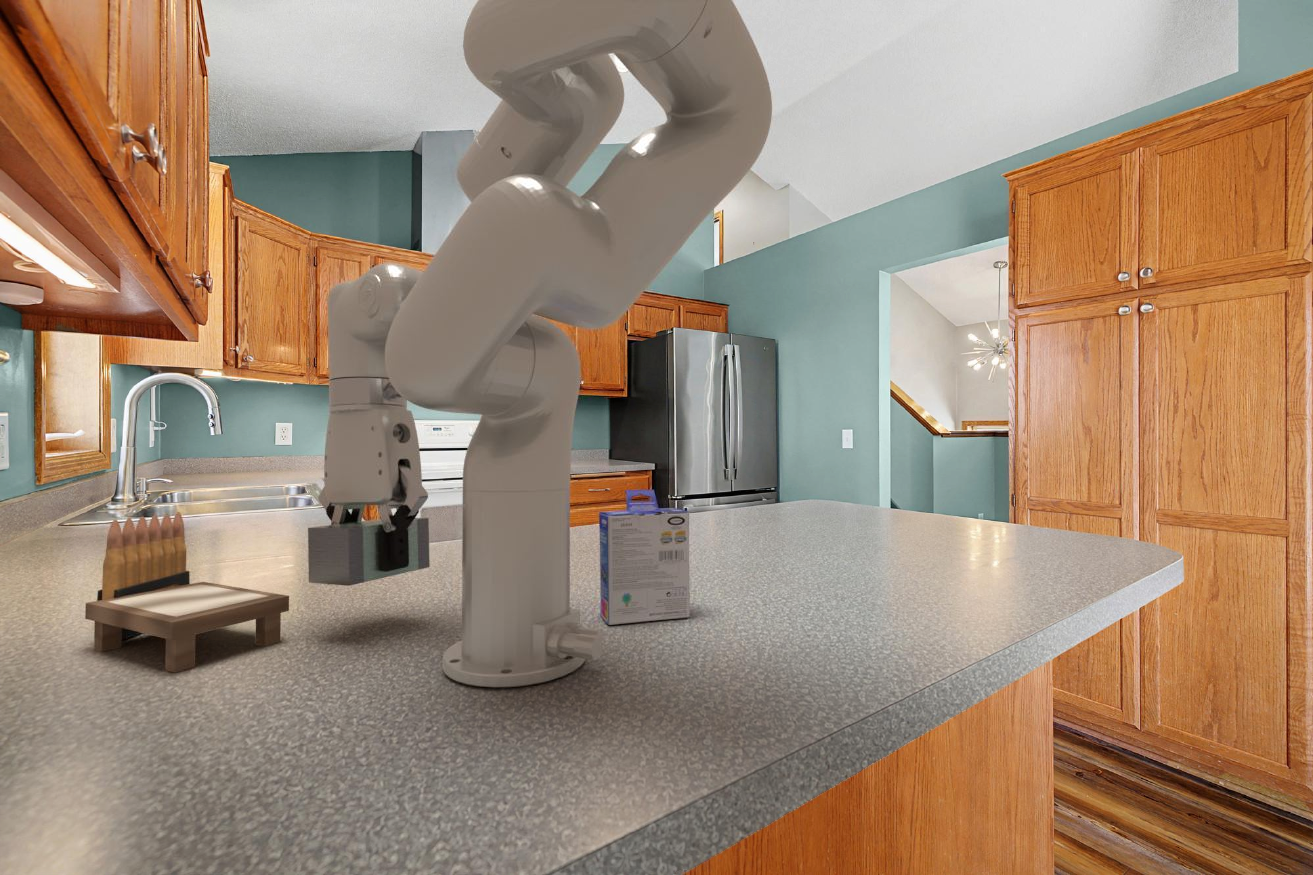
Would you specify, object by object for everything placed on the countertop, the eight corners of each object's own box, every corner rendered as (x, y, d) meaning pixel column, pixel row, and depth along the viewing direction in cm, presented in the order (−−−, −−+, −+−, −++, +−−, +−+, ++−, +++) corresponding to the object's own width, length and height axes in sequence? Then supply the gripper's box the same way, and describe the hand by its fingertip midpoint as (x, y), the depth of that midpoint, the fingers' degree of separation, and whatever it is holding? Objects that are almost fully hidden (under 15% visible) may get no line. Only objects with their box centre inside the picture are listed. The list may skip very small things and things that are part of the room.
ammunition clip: (114, 642, 57) (117, 520, 58) (93, 643, 57) (97, 520, 58) (190, 614, 68) (192, 511, 69) (173, 614, 68) (175, 511, 68)
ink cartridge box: (676, 606, 72) (675, 488, 72) (692, 618, 66) (692, 491, 67) (597, 613, 68) (597, 489, 69) (608, 627, 63) (608, 493, 64)
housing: (429, 567, 65) (428, 517, 66) (349, 585, 56) (348, 528, 57) (391, 565, 68) (390, 517, 68) (308, 582, 59) (307, 527, 59)
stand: (288, 640, 59) (289, 595, 59) (171, 675, 50) (172, 621, 50) (202, 622, 65) (203, 581, 65) (84, 650, 56) (85, 602, 56)
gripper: (455, 395, 63) (459, 564, 62) (346, 408, 70) (348, 559, 69) (397, 389, 56) (401, 578, 55) (283, 403, 63) (285, 571, 62)
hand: (372, 566), depth 62 cm, fingers closed on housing, 6 cm apart
